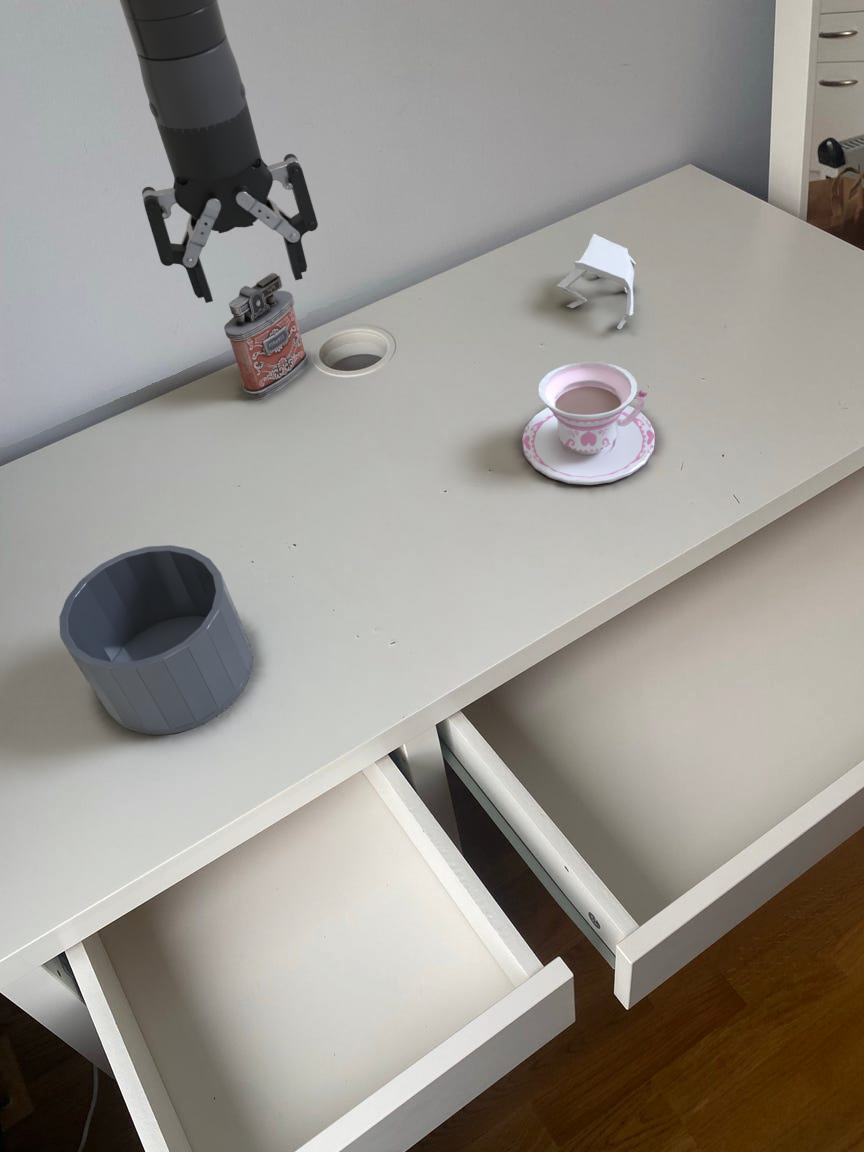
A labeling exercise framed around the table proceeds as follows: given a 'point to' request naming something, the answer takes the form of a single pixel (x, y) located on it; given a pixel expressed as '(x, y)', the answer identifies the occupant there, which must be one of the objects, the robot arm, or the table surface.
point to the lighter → (265, 337)
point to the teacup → (589, 425)
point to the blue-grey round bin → (158, 639)
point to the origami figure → (604, 270)
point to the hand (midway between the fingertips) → (253, 287)
